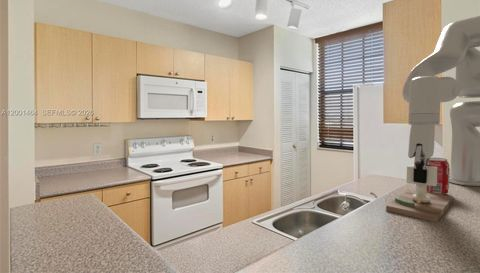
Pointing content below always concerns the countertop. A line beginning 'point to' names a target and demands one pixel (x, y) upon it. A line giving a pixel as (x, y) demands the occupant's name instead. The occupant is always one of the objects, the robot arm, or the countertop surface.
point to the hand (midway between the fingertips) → (421, 180)
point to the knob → (422, 187)
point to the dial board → (420, 206)
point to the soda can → (440, 176)
